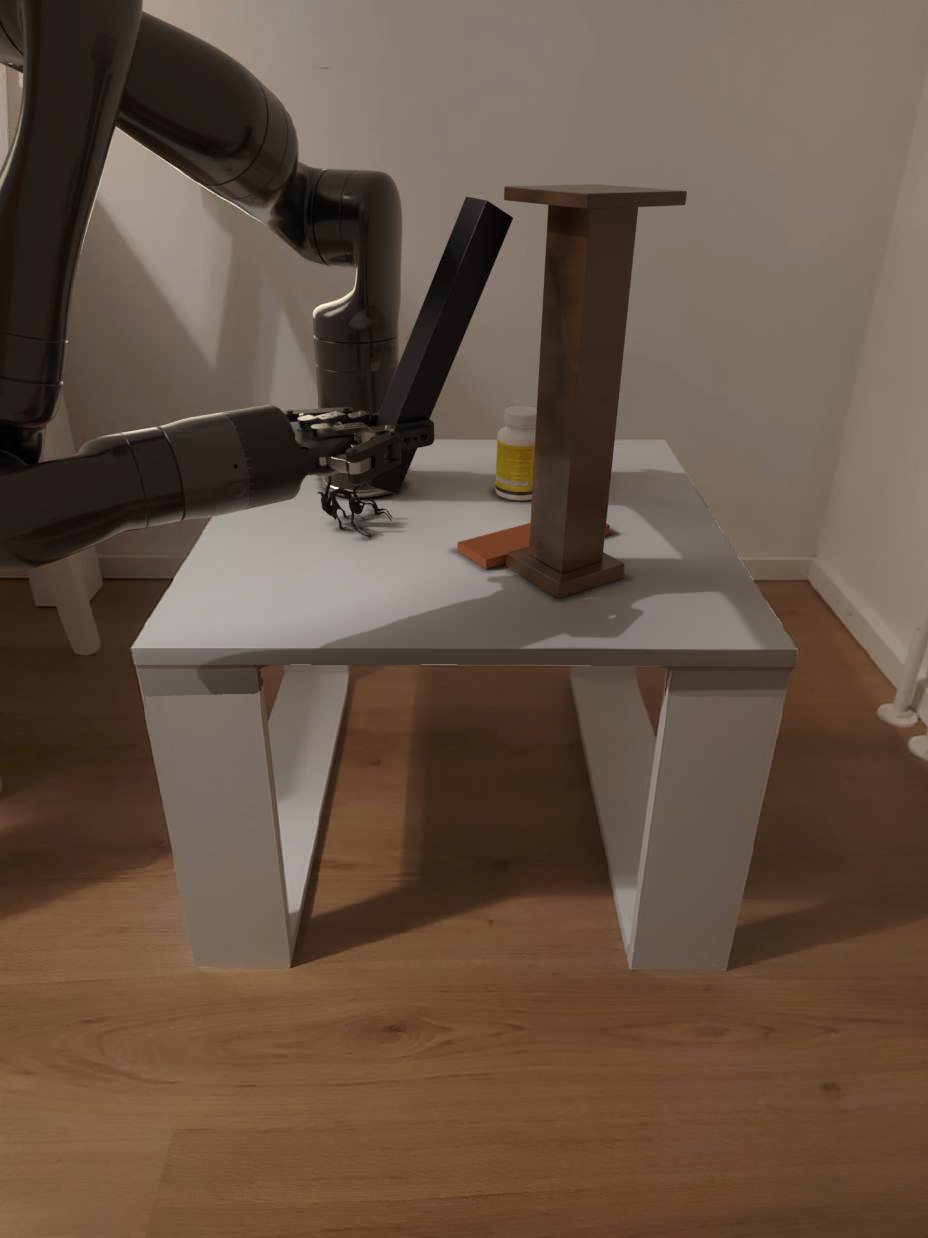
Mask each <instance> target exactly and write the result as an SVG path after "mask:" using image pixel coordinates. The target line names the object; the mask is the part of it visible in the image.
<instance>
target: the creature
mask: <svg viewBox="0 0 928 1238" xmlns="http://www.w3.org/2000/svg"><path fill="white" fill-rule="evenodd" d="M366 484H367V483H365V484H364V485H363V486H362V487H361V486H360V485H357V486H355V487H354V488H353V492H350V491H348V490H346V489H343V488H338V489H336V490H334V491H332V492H329V489H330V486H331V475H329V476H328V484H327V486H326V489H324V492H322V491H318V492H317V494H319V495H320V496H321V497H320V503H321V509H322V511H324V512H325V513H326V514H327V515H328V516H330V517H332V518H333V519H334V521H335V522H336V521H337V522H338V527H339V530H341V531H343V530H345V529H349V530H351V528H350V527H348V526H344V527H343V525H342V520H341V519H340V518H339V515H338V510H340V511H341V513H342V516H343V518H344V519H348V518H350V517H351V518H350V525H351V526H352V528H353V530H355V531H356V532H358V533H359V534H361V535H363V536H364V537H369V538H370V537H372V535H371V534H370V533H369V532H368V531H366V530H365V529H364V528H362V527H361V526H359V527H357V526H356V524H355V522H354V520H355V515H357V516H358V517H360V518H361V519H362V520H364V519H365V518H367V517H369V516H374V515H376V516H379V515H382V514H385V516H387V518H388V519H389V520H390V521H391V522H392V520H393V516H392V514H391V513H390V512H389V510H388V509H386V508H383V507H382V508H379V506H378V504H377V502H376V501H375V500H373V499H371V498H370V499H367V500H365V501H362V500H361V499H362V498H361V497H360V498H358V496H357V495H356V493H357V492H358V491H357V492H356V489H358V488H359V487H361V488H363V489H364V487H365V485H366ZM359 489H360V488H359ZM362 492H363V490H362ZM338 493H339V494H344V495H345V496H346V497H345V496H344V497H345V498H347V499H348V509H349V510H350V512H351V514H349V515H347V513H346V510H345V509H343V508H342V507H341V505H340V504H339V502H338V500H337V497H336V496H338V495H337V494H338ZM351 494H354V497H352V496H351ZM361 495H362V494H361ZM361 504H362V505H361ZM366 505H367V506H368V507H371V508H372V509H373V510H374V511H373V512H374V513H371V514H368V515H365V516H363V517H362V516H360V515H361V514H363V511H364V508H365V506H366ZM359 529H360V530H362V532H361V531H360V530H359ZM363 532H365V533H366V534H364V533H363Z"/></svg>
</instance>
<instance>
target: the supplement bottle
mask: <svg viewBox="0 0 928 1238" xmlns="http://www.w3.org/2000/svg"><path fill="white" fill-rule="evenodd" d="M536 414H537V407H533V406H527V405H514V406H509V407H507V408H505V409H504V424H505V426H503V427H502V428H500V429H499V430H498V431H497V432H498V433H497V438H496V440H497V441H496V460H495V479H494V481H495V483H494V491H495V493H496V494H497V496H499V497H500V498H503V499H506V500H512V501H530V500H532V486H533V468H534V450H535V432H536Z"/></svg>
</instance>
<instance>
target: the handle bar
mask: <svg viewBox="0 0 928 1238" xmlns="http://www.w3.org/2000/svg"><path fill="white" fill-rule="evenodd" d="M513 220H514V217H513V216H512V215H510V214H508V213H507V212H506V211H504V210H503V209H501V208H500V207H498V206H497V205H495V204H494V203H492V202H491V201H489V200H487V199H481V198H477V197H472V196H465V197H464V199H463V202H462V205H461V208H460V209H459V213H458V214H457V218H456V220H455V222H454V225H453V228H452V230H451V232H450V235H449V238H448V240H447V242H446V245H445V248H444V250H443V252H442V254H441V257H440V260H439V262H438V265H437V266H436V267H437V268H436V270H435V273H434V275H433V278H432V280H431V282H430V285H429V287H428V290H427V293H426V295H425V297H424V299H423V303H422V305H421V307H420V310H419V313H418V315H417V318H416V319H415V322H414V325H413V327H412V330H411V331H410V334H409V338H408V340H407V342H406V344H405V347H404V350H403V352H402V355H401V357H400V359H399V365H398V367H397V370H396V372H395V375H394V377H393V379H392V382H391V384H390V387H389V389H388V392H387V394H386V397H385V399H384V402H383V404H382V407H381V409H380V412H379V414H378V417H377V419H376V422H375V424H374V426H382V425H387V424H397V423H402V422H408V421H413V420H418V419H423V418H428V419H430V420H431V416H432V415H433V412H434V409H435V407H436V404H437V402H438V399H439V398H440V395H441V393H442V390H443V388H444V385H445V383H446V380H447V378H448V376H449V374H450V371H451V369H452V366H453V364H454V362H455V359H456V357H457V354H458V352H459V349H460V347H461V345H462V342H463V340H464V337H465V335H466V333H467V331H468V328H469V326H470V323H471V321H472V318H473V316H474V314H475V311H476V309H477V306H478V304H479V301H480V299H481V297H482V294H483V292H484V290H485V287H486V284H487V282H488V280H489V277H490V275H491V273H492V271H493V268H494V265H495V263H496V261H497V259H498V256H499V254H500V252H501V249H502V246H503V244H504V242H505V239H506V236H507V235H508V232H509V229H510V227H511V225H512V222H513ZM376 437H378V436H376ZM373 438H375V437H372V438H371V439H373ZM371 439H370V440H371ZM417 451H418V448H415V449H411V450H406V451H401V464H400V465H398V466H395V467H393V468H391V469H389V470H387V471H385V472H383V473H381V474H379V475H377V476H374V477H372V478H370V479H368V480H366V481H364V482H365V483H367V484H368V485H370V486H371V487H374V488H378V489H381V490H384V491H387V492H391V493H390V494H394V495H399V493H400V490H401V488H402V486H403V484H404V482H405V479H406V476H407V475H408V472H409V470H410V468H411V465H412V462H413V459H414V457H415V455H416V453H417Z"/></svg>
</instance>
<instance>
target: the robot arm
mask: <svg viewBox="0 0 928 1238" xmlns="http://www.w3.org/2000/svg"><path fill="white" fill-rule="evenodd" d="M143 6H144V0H0V64H1V65H3V66H6V67H7V68H9V69H11V70H14V71H16V72H18V73H21V74H22V90H21V100H20V106H19V113H18V118H17V122H16V125H15V130H14V133H13V137H12V140H11V143H10V146H9V148H8V151H7V154H6V155H5V158H4V161H3V163H2V165H1V168H0V573H15V572H22V571H27V570H32V569H36V568H37V569H38V568H40V567H43V566H47V565H50V564H53V563H55V562H59V561H61V560H64V559H65V558H68V557H70V556H73V555H76V554H78V553H81V552H82V551H85V550H88V549H91V548H94V547H95V546H97V545H100V544H101V543H103V542H106V541H107V540H109V539H111V538H114V537H116V536H118V535H121V534H123V533H128V532H134V531H139V530H145V529H149V528H154V527H158V526H162V525H167V524H171V523H176V522H180V521H186V520H187V521H188V520H195V519H197V520H198V519H207V518H214V517H219V516H224V515H228V514H233V513H237V512H242V511H245V510H250V509H254V508H260V507H265V506H269V505H273V504H277V503H283V502H286V501H291V500H294V499H295V498H296V497H297V496H298V494H299V493H300V490H301V486H302V483H303V481H304V479H305V478H306V477H307V476H316V477H322V487H323V489H324V490H325V489H326V486H327V484H328V476H329V475H331V486H330V489H329V492H328V493H330V492H332V491H334V490H336V489H338V488H343V489H346V490H348V491H350V492H353V488H354V487H355V486H357V485H360V486H361V487H362V486H363V485H364V484H365V482H364V481H366V480H368V479H370V478H372V477H374V476H377V475H379V474H381V473H383V472H385V471H387V470H389V469H391V468H393V467H395V466H398V465H400V464H401V451H406V450H411V449H415V448H417V449H420V448H424V447H429V446H432V445H433V444H434V442H435V423H434V420H432V419H431V418H430V419H428V418H423V419H418V420H413V421H408V422H402V423H397V424H387V425H382V426H374V424H375V422H376V419H377V417H378V414H379V412H380V409H381V407H382V404H383V402H384V399H385V397H386V394H387V392H388V389H389V387H390V384H391V382H392V379H393V377H394V375H395V372H396V370H397V367H398V365H399V362H400V344H399V343H400V342H399V339H400V338H399V332H400V331H399V321H400V320H399V318H400V311H401V303H402V302H401V301H402V255H403V254H402V251H403V207H402V201H401V194H400V192H399V189H398V185H397V184H396V182H395V180H394V178H392V176H391V175H390V174H389V173H387V172H384V171H380V170H370V169H367V170H366V169H342V168H341V169H339V168H336V169H335V168H319V167H313V166H309V165H307V164H305V163H304V162H301V161H300V160H299V159H300V157H299V156H300V145H299V137H298V132H297V128H296V125H295V123H294V120H293V118H292V116H291V114H290V112H289V110H288V109H287V107H286V106H285V105H284V104H283V102H282V101H281V100H280V99H279V98H278V97H277V96H276V94H275V93H274V92H273V91H271V90H270V89H269V88H268V87H267V86H266V85H265V83H263V82H262V81H261V80H260V79H259V78H258V77H257V76H255V74H253V73H252V72H251V71H250V70H249V69H248V68H247V67H246V66H245V65H244V64H242V63H241V62H239V61H238V60H237V59H235V58H234V57H232V56H231V55H230V54H228V53H226V52H225V51H223V50H221V49H220V48H218V47H217V46H215V45H213V44H212V43H209V42H208V41H206V40H204V39H202V38H201V37H198V36H196V35H195V34H193V33H190V32H188V31H186V30H184V29H182V28H180V27H178V26H176V25H174V24H172V23H170V22H167V21H165V20H162V18H159V17H157V16H154V15H152V14H150V13H148V12H146V11H144V10H143ZM116 129H118V131H120V132H122V133H123V134H124V135H126V136H127V137H129V138H130V139H132V140H133V141H134V142H135V143H137V144H139V145H140V146H142V147H143V148H144V149H146V150H147V151H149V152H151V153H152V154H153V155H155V156H157V157H158V158H160V159H161V160H163V161H164V162H165V163H168V165H170V166H172V167H173V168H174V169H176V171H178V172H180V174H182V175H184V176H185V177H187V178H188V179H190V180H191V181H192V182H195V183H196V184H197V185H199V186H201V187H203V188H204V189H206V190H207V191H209V192H210V193H212V194H214V195H215V196H217V197H219V198H221V199H222V200H224V201H226V202H228V203H230V204H231V205H233V206H234V207H236V208H238V209H240V210H241V212H244V213H245V214H246V215H248V216H250V217H251V218H253V219H255V220H256V221H259V222H260V223H261V224H263V225H265V226H266V228H268V229H269V230H270V231H272V232H273V233H274V234H275V236H277V237H278V238H279V239H280V240H281V241H283V242H284V243H285V244H286V245H287V246H288V247H289V248H290V249H291V250H292V251H294V252H295V253H296V254H297V255H299V256H300V257H301V258H302V259H304V260H305V261H307V262H309V263H311V264H314V265H317V266H319V267H324V268H325V267H327V268H339V269H355V270H356V273H355V283H354V287H353V288H352V289H351V291H349V293H347V294H345V295H343V296H342V297H339V298H336V299H333V300H331V301H327V302H325V303H322V304H320V305H318V306H317V307H315V309H313V312H312V332H313V333H312V334H313V347H314V348H313V349H314V358H315V359H314V361H315V374H316V375H315V376H316V377H315V378H316V388H317V408H303V409H292V408H291V409H286V410H284V411H283V410H282V409H280V408H279V407H278V406H276V405H274V404H265V405H258V406H257V405H256V406H252V407H251V406H250V407H246V408H238V409H233V410H225V411H221V412H215V413H207V414H203V415H196V416H191V417H186V418H183V419H178V420H176V421H172V422H169V423H165V424H162V425H158V426H152V427H145V428H139V429H133V430H127V431H121V432H116V433H111V434H107V435H102V436H98V437H95V438H93V439H89V440H88V441H86V442H85V443H83V444H82V445H81V446H80V448H79V449H78V452H77V453H74V454H71V455H67V456H63V457H57V458H54V459H50V460H45V461H43V459H44V458H43V457H44V450H45V442H46V435H47V428H48V424H50V423H51V422H52V421H53V420H54V419H55V417H56V416H57V414H58V412H59V409H60V406H61V400H62V395H63V390H64V382H63V381H64V380H65V373H66V364H67V363H66V362H67V356H68V355H67V353H68V344H69V341H68V340H69V335H70V325H71V324H70V323H71V315H72V307H73V299H74V293H75V287H76V286H75V285H76V280H77V275H78V270H79V264H80V259H81V256H82V255H81V254H82V250H83V246H84V241H85V237H86V234H87V230H88V227H89V223H90V220H91V217H92V212H93V210H94V206H95V202H96V199H97V195H98V192H99V189H100V186H101V182H102V178H103V175H104V171H105V167H106V164H107V160H108V157H109V154H110V149H111V147H112V146H111V145H112V142H113V139H114V135H115V131H116ZM376 436H378V437H376ZM372 437H375V438H373V439H371V438H372ZM370 439H371V440H370ZM361 487H359V488H360V489H359V488H358V489H356V492H357V491H358V492H357V493H356V495H357V496H358V498H359V499H360V497H361V499H362V498H363V499H364V498H365V499H366V498H367V499H368V498H376V497H382V496H385V495H389V494H392V493H391V492H387V491H384V490H381V489H378V488H374V487H371V486H370V485H368V484H366V485H365V487H364V489H363V488H361ZM362 490H363V492H362ZM361 494H362V495H361ZM336 496H340V497H345V498H347V497H346V496H345V495H344V494H339V493H338V494H337V495H336ZM351 496H352V497H354V494H351Z"/></svg>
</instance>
